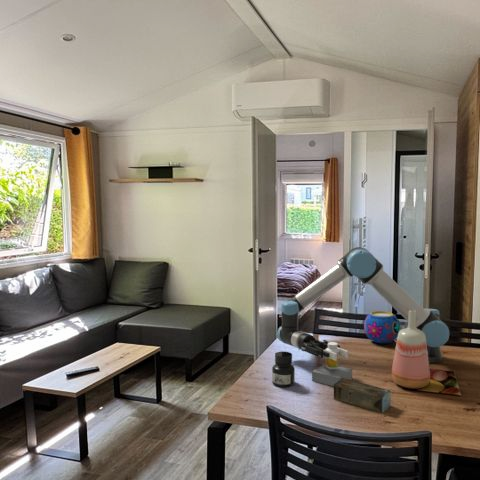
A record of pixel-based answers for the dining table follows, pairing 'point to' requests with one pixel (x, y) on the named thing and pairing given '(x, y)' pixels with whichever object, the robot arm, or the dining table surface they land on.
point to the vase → (411, 357)
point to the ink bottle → (283, 370)
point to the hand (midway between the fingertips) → (341, 355)
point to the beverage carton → (362, 395)
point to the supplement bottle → (329, 362)
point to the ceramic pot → (381, 326)
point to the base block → (330, 375)
